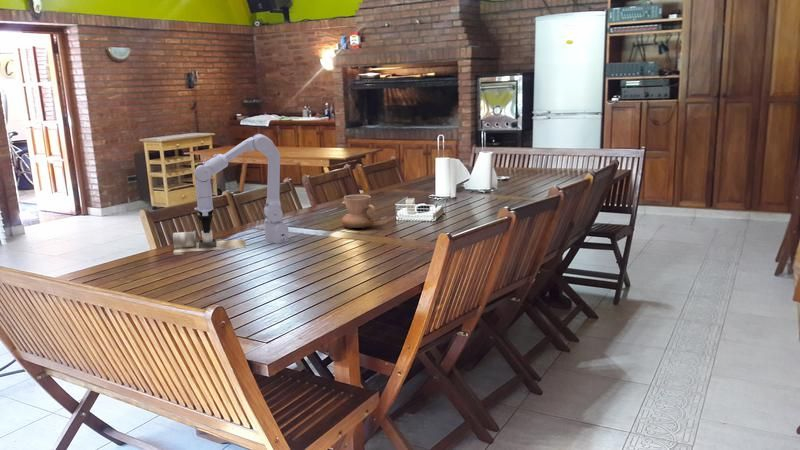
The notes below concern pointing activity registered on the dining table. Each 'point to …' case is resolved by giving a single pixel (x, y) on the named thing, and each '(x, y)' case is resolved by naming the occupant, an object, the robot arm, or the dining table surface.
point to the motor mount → (188, 243)
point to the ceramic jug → (358, 211)
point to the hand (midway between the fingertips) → (206, 230)
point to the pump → (207, 237)
